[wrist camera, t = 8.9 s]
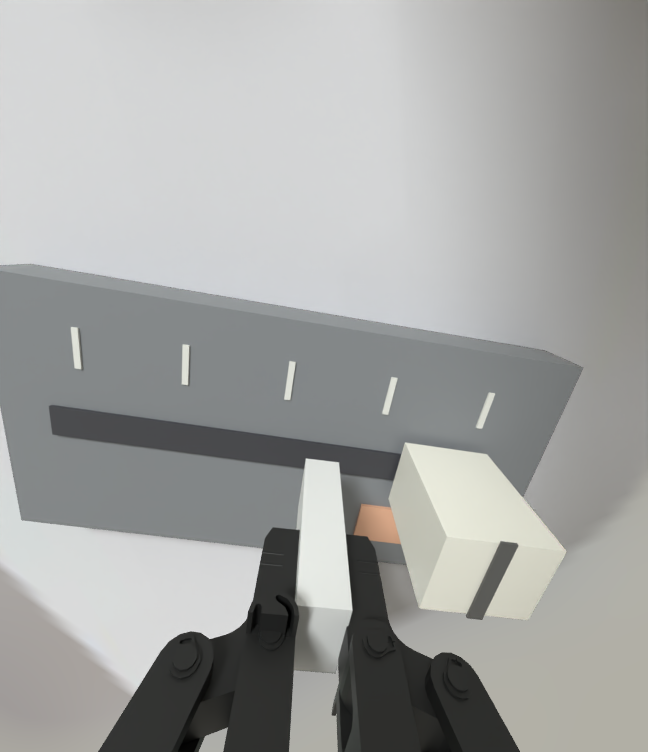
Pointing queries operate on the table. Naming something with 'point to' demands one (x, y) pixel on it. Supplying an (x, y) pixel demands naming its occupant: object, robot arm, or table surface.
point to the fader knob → (469, 535)
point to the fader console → (242, 407)
